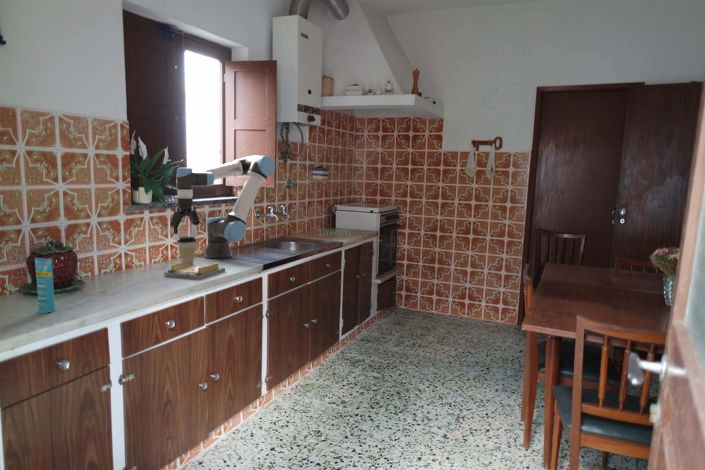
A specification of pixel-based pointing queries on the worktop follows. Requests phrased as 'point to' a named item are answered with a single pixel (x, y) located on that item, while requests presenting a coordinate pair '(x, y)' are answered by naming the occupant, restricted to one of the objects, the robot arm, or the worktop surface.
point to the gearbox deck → (193, 270)
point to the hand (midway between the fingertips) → (185, 238)
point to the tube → (45, 285)
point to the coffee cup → (186, 248)
